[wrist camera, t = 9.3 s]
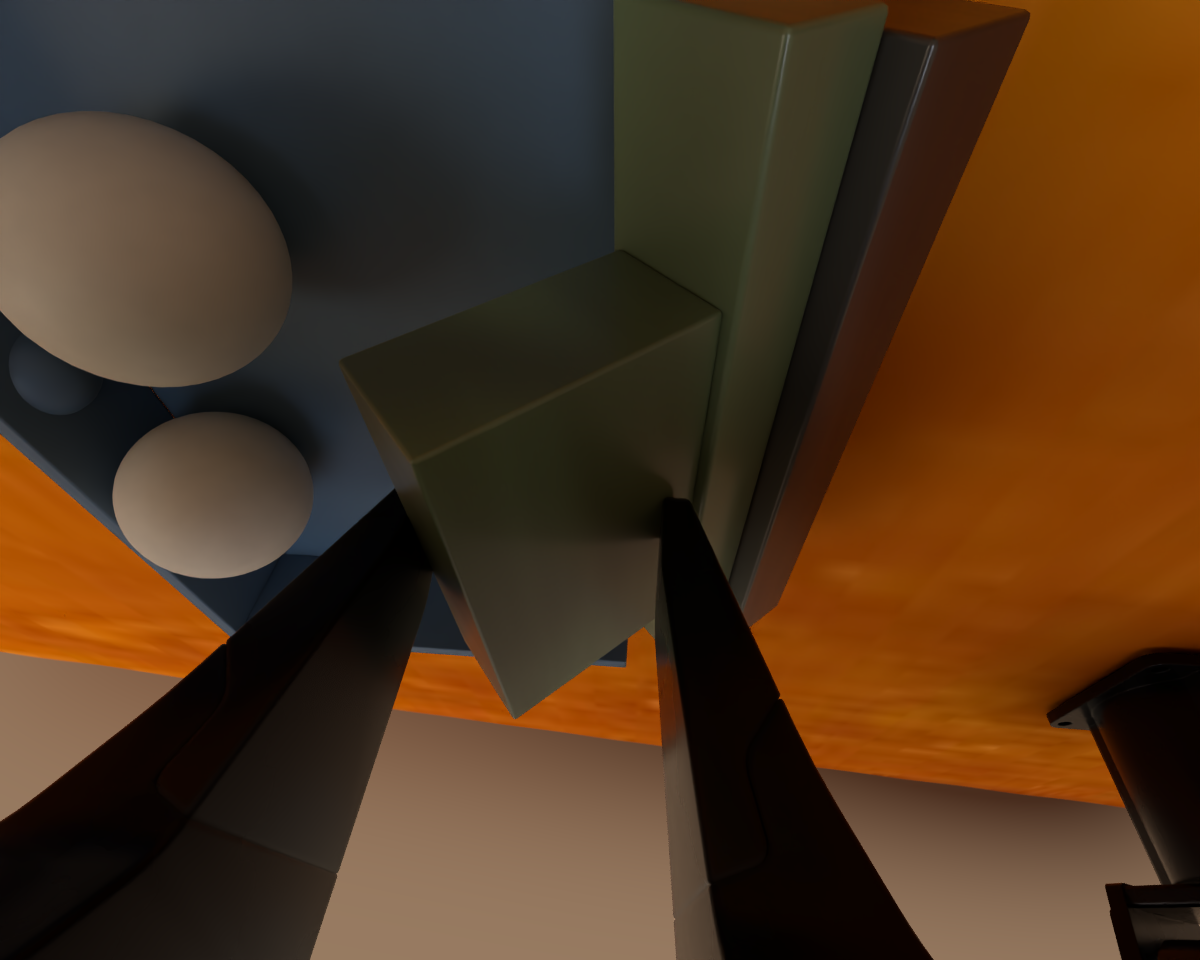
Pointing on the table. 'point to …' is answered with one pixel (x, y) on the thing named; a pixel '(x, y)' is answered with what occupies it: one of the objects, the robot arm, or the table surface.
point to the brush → (687, 321)
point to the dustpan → (326, 212)
